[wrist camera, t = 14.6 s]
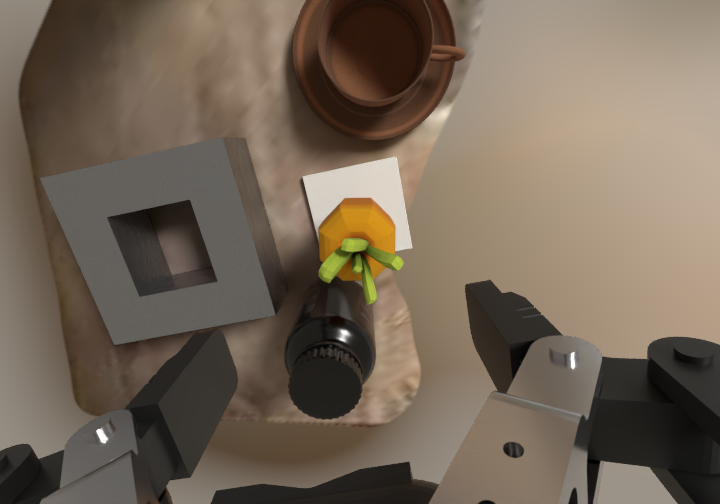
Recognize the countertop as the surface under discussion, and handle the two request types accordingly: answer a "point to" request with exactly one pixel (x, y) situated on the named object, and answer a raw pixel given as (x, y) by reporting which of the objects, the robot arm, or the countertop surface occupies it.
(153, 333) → the metal housing
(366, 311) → the supplement bottle
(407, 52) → the cup and saucer
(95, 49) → the countertop surface
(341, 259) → the carrot
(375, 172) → the plastic pad
